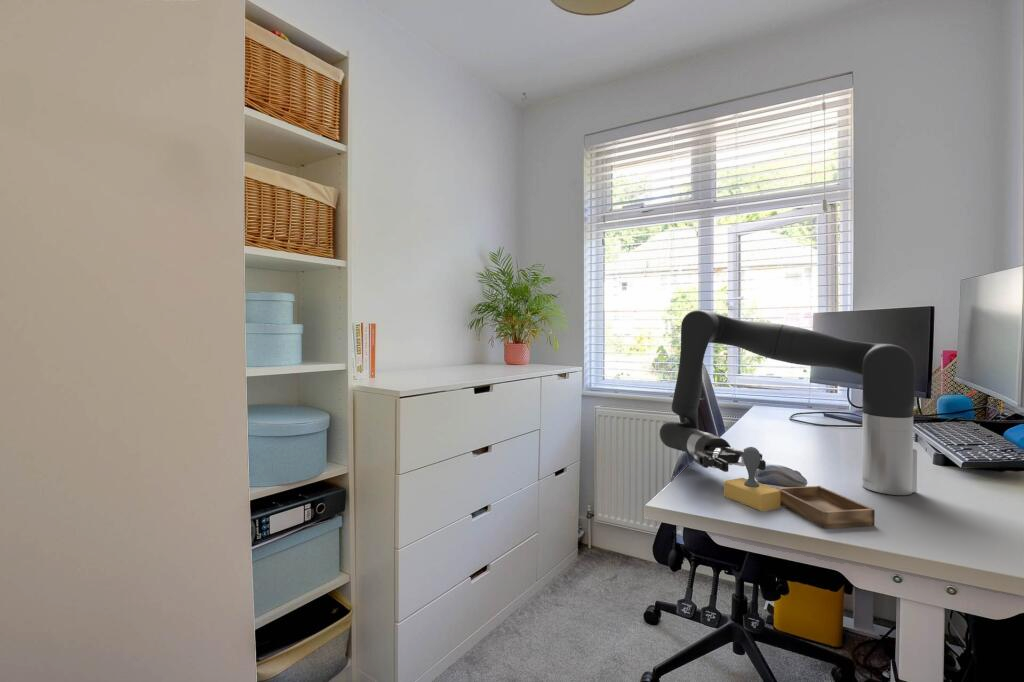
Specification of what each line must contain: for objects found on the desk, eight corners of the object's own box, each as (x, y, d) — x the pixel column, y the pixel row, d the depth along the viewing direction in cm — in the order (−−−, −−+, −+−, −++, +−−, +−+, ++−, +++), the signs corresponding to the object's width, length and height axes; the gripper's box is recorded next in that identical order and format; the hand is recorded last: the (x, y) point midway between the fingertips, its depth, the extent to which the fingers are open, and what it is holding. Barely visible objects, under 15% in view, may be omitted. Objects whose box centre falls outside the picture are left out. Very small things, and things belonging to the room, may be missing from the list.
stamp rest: (819, 499, 106) (819, 485, 106) (874, 525, 92) (874, 509, 92) (775, 501, 105) (775, 488, 105) (824, 528, 91) (824, 512, 91)
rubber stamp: (781, 507, 102) (781, 450, 102) (761, 512, 100) (761, 453, 99) (742, 493, 111) (742, 440, 111) (722, 497, 109) (722, 443, 109)
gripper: (681, 435, 123) (714, 450, 107) (734, 432, 124) (775, 448, 108) (681, 464, 123) (714, 485, 107) (734, 462, 124) (775, 482, 108)
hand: (745, 466), depth 107 cm, fingers open, 8 cm apart
